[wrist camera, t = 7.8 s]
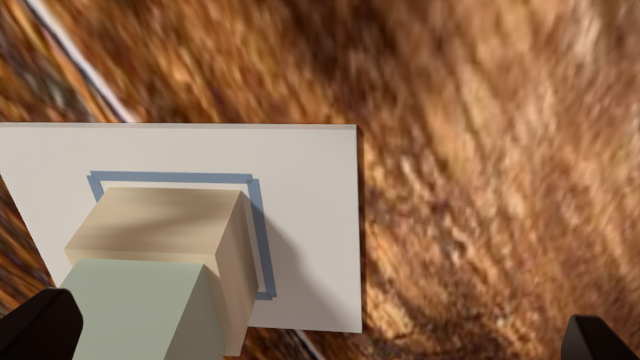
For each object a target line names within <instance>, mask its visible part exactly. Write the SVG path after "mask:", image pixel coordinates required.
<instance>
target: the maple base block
mask: <svg viewBox="0 0 640 360" xmlns="http://www.w3.org/2000/svg"><path fill="white" fill-rule="evenodd" d="M64 251H65V253H66V255H67V257H68V260H69V262H70V264H71V266H72V268H73V266H74V265H75V263H76V262H77V261H78V259H79V258H87V259H111V260H134V261H158V262H182V263H203V264H204V267H205V271H206V275H207V279H208V283H209V287H210V290H211V294H212V298H213V302H214V306H215V309H216V313H217V317H218V321H219V325H220V328H221V332H222V336H223V340H224V344H225V351H224V354H223V355H226V356H239V355H240V352H241V348H242V345H243V341H244V338H245V334H246V331H247V327H248V324H249V320H250V317H251V313H252V310H253V306H254V303H255V300H256V296H257V293H258V289H259V285H258V280H257V275H256V269H255V264H254V258H253V253H252V248H251V242H250V237H249V232H248V226H247V221H246V215H245V210H244V205H243V199H242V194H241V190H231V189H187V188H143V187H108V189H107V190H106V192H105V193H104V194H103V196H102V197H101V198H100V200H99V201H98V202H97V204H96V205H95V207H94V208H93V209H92V211H91V212H90V213H89V215H88V216H87V217H86V219H85V220H84V222H83V223H82V224H81V226H80V227H79V228H78V230H77V231H76V232H75V234H74V235H73V237H72V238H71V239H70V241H69V242H68V243H67V245H66V246H65V248H64Z"/></svg>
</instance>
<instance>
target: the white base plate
mask: <svg viewBox="0 0 640 360" xmlns="http://www.w3.org/2000/svg"><path fill="white" fill-rule="evenodd" d="M0 174H1V176H2V178H3V180H4V182H5V184H6V186H7V188H8V190H9V192H10V194H11V196H12V198H13V200H14V202H15V204H16V206H17V208H18V210H19V212H20V214H21V216H22V218H23V220H24V222H25V224H26V226H27V228H28V230H29V232H30V234H31V236H32V238H33V240H34V242H35V244H36V246H37V248H38V250H39V252H40V254H41V256H42V258H43V260H44V262H45V264H46V266H47V268H48V270H49V272H50V274H51V276H52V278H53V280H54V282H55V284H56V286H57V288H59V287H60V285H61V284H62V282H63V281H64V280H65V278H66V277H67V275H68V274H69V272H70V271H71V269H72V266H71V264H70V262H69V260H68V257H67V255H66V253H65V251H64V248H65V246H66V245H67V243H68V242H69V241H70V239H71V238H72V237H73V235H74V234H75V232H76V231H77V230H78V228H79V227H80V226H81V224H82V223H83V222H84V220H85V219H86V217H87V216H88V215H89V213H90V212H91V211H92V209H93V208H94V207H95V205H96V204H97V202H98V201H99V200H100V198H101V197H102V196H103V194H104V193H105V192H106V190H107V189H108V187H143V188H187V189H231V190H241V194H242V199H243V205H244V210H245V215H246V221H247V226H248V232H249V237H250V242H251V248H252V253H253V258H254V264H255V269H256V275H257V280H258V285H259V289H258V293H257V296H256V300H255V303H254V306H253V310H252V313H251V317H250V320H249V324H248V326H250V327H267V328H285V329H302V330H319V331H336V332H353V333H362V302H361V267H360V232H359V196H358V161H357V126H356V125H355V124H182V123H10V122H0Z"/></svg>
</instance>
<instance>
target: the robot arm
mask: <svg viewBox="0 0 640 360" xmlns="http://www.w3.org/2000/svg"><path fill="white" fill-rule="evenodd" d="M83 324H84V320H83V315H82V313H81V311H80V309H79V307H78V305H77V303H76V301H75V299H74V297H73V295H72V293H71V291H70V290H68V289H66V288H46V289H44V290H42V291H40V292H39V293H37V294H36V295H34V296H33V297H32V298H30V299H29V300H27V301H26V302H24V303H23V304H21V305H20V306H19V307H17V308H16V309H14V310H13V311H11V312H10V313H8V314H7V315H6V316H4V317H3V318H1V319H0V360H72V359H73V356H74V353H75V350H76V347H77V344H78V341H79V339H80V336H81V333H82V330H83ZM561 359H562V360H640V358H639V357H638V356H637V355H636V354H635V353H634V352H633V351H632V350H631V349H630V348H629V347H628V346H627V345H626V343H625V342H624V341H623V340H622V339H621V338H620V337H619V336H618V335H617V334H616V333H615V332H614V331H613V330H612V329H611V328H610V327H609V326H608V325H607V324H606V322H605V321H604V320H603V319H602V318H600V317H598V316H596V315H583V314H574V315H572V316H571V317H570V319H569V322H568V326H567V329H566V332H565V336H564V339H563V342H562V346H561Z"/></svg>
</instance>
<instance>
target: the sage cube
mask: <svg viewBox="0 0 640 360" xmlns="http://www.w3.org/2000/svg"><path fill="white" fill-rule="evenodd" d="M59 288H66V289H68V290H70V291H71V293H72V295H73V297H74V299H75V301H76V303H77V305H78V307H79V309H80V311H81V313H82V315H83V320H84V324H83V330H82V333H81V336H80V339H79V341H78V344H77V347H76V350H75V353H74V356H73V359H72V360H222V358H223V354H224V351H225V344H224V340H223V336H222V332H221V328H220V325H219V321H218V317H217V313H216V309H215V306H214V302H213V298H212V294H211V290H210V287H209V283H208V279H207V275H206V271H205V267H204V264H203V263H182V262H158V261H134V260H111V259H87V258H79V259H78V261H77V262H76V263H75V265H74V266H73V268H72V269H71V271H70V272H69V274H68V275H67V277H66V278H65V280H64V281H63V282H62V284H61V285H60V287H59Z"/></svg>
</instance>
